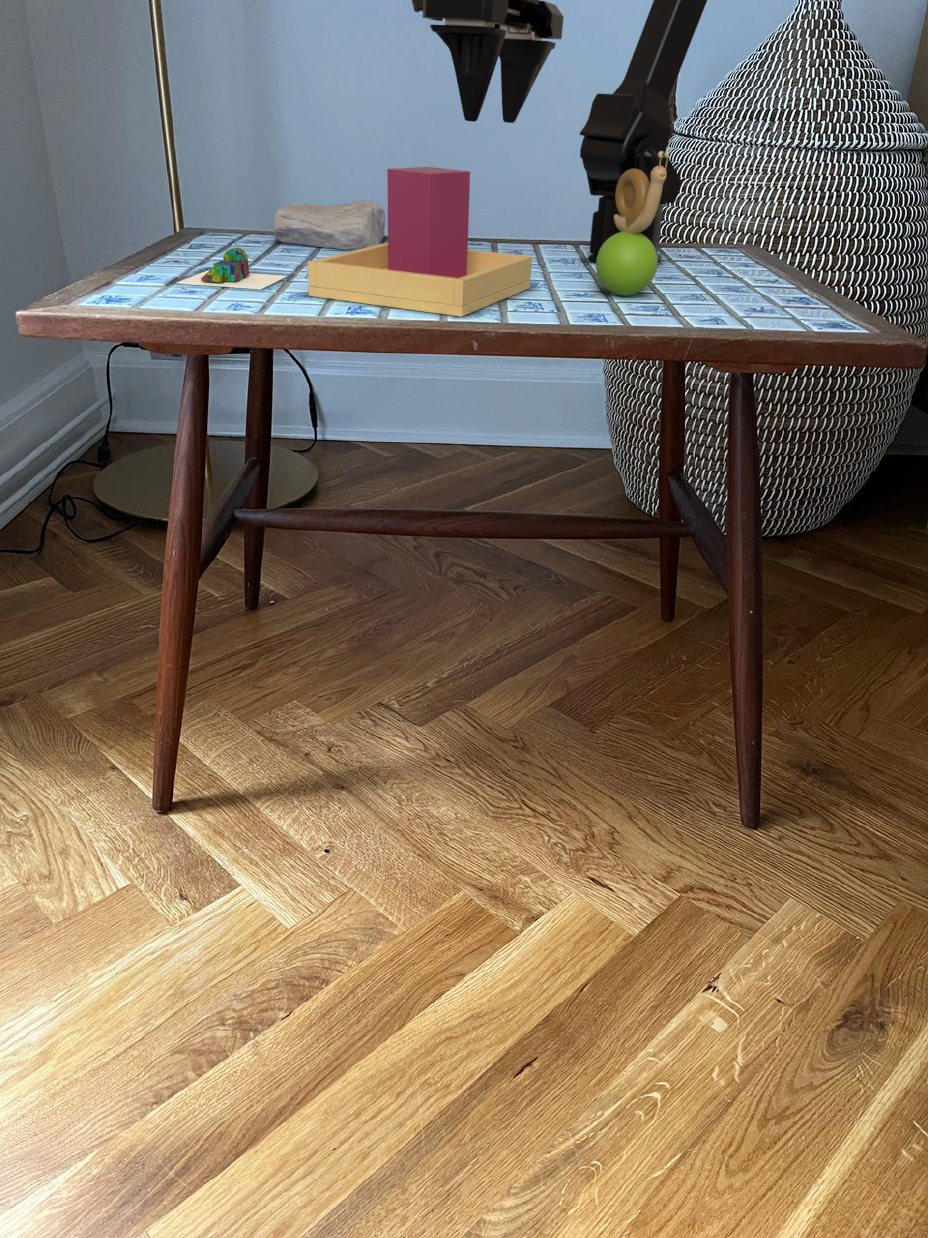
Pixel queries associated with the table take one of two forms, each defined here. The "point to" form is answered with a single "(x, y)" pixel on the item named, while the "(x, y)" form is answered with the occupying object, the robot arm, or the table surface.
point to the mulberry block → (428, 220)
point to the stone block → (331, 225)
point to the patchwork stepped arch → (233, 273)
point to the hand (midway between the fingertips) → (490, 121)
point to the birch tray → (418, 281)
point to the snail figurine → (632, 233)
